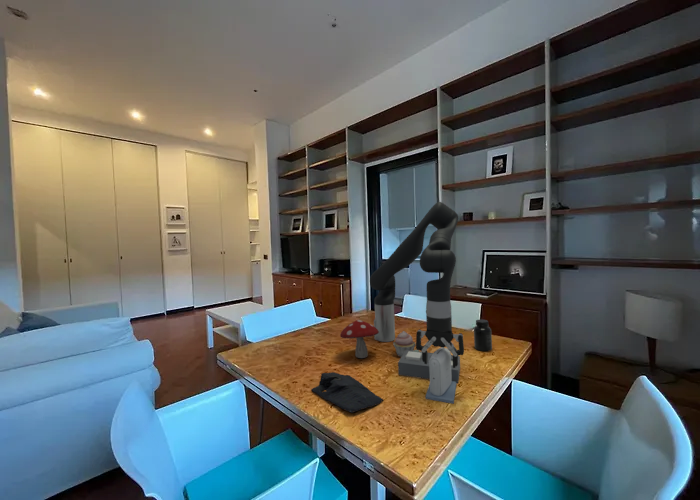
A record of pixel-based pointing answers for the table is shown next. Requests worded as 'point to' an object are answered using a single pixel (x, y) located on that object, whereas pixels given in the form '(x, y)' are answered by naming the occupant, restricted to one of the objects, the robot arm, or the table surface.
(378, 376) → the table surface
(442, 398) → the pad
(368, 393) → the folded black shirt
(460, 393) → the table surface
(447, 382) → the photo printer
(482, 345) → the supplement bottle
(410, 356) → the left switch
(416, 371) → the switch box
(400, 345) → the cupcake
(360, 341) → the decorative mushroom
